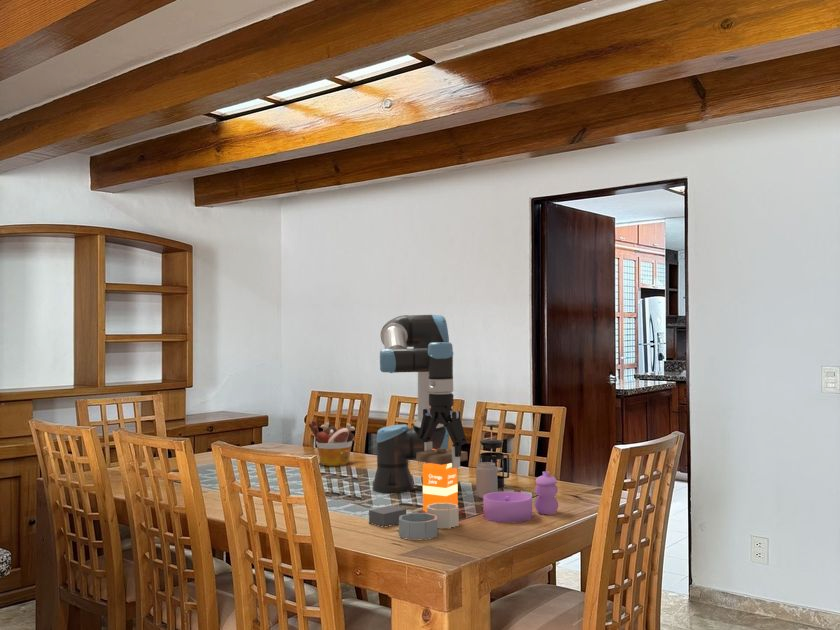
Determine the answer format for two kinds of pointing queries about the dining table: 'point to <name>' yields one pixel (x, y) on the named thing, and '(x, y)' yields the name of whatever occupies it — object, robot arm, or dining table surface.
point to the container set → (521, 502)
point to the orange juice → (439, 484)
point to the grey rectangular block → (386, 515)
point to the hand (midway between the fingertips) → (442, 465)
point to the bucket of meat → (333, 443)
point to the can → (486, 479)
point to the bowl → (445, 514)
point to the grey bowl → (418, 526)
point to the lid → (438, 456)
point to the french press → (495, 456)
